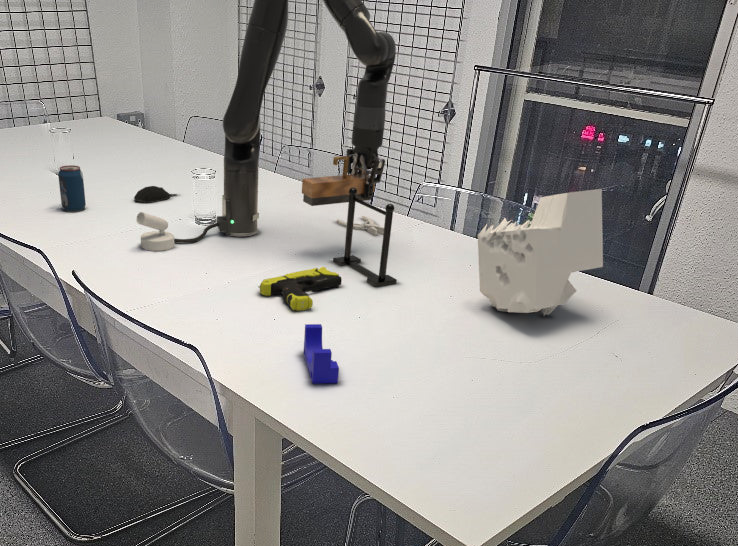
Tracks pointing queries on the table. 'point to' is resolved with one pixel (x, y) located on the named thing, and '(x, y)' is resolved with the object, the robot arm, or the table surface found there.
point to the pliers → (366, 226)
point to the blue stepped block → (318, 357)
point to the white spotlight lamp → (155, 233)
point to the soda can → (71, 188)
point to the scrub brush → (333, 187)
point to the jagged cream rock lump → (541, 253)
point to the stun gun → (300, 286)
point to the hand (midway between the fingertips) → (361, 195)
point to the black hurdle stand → (354, 260)
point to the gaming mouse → (152, 194)
